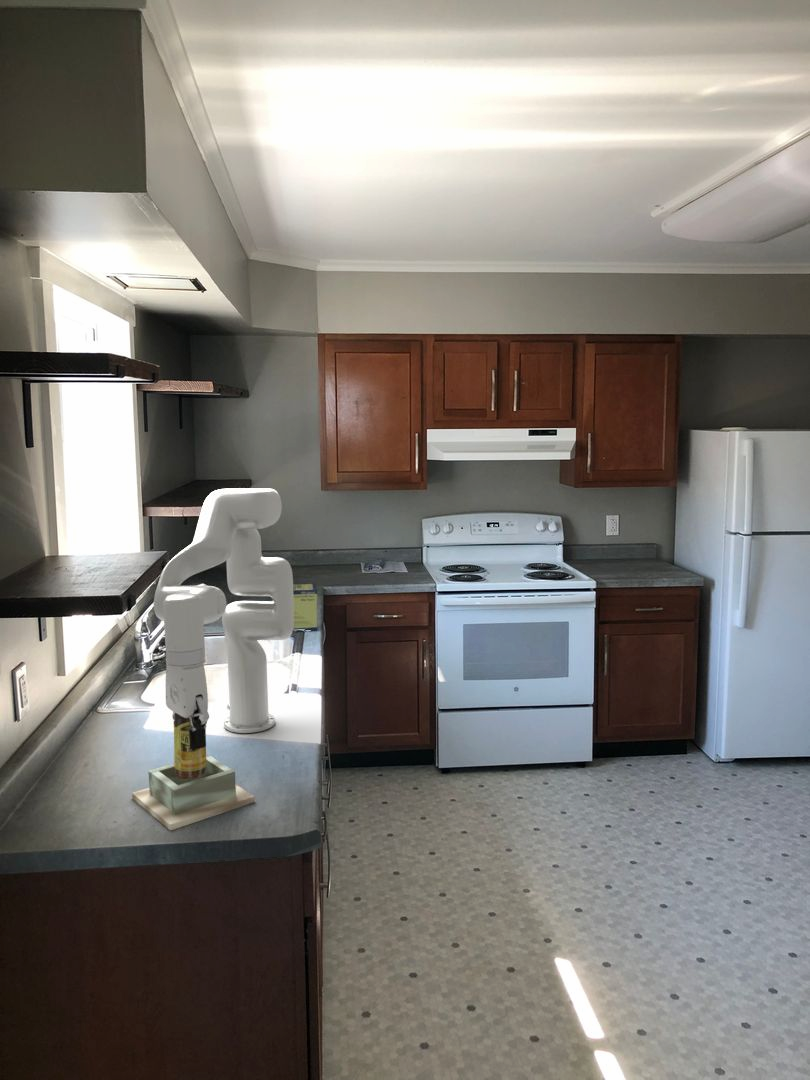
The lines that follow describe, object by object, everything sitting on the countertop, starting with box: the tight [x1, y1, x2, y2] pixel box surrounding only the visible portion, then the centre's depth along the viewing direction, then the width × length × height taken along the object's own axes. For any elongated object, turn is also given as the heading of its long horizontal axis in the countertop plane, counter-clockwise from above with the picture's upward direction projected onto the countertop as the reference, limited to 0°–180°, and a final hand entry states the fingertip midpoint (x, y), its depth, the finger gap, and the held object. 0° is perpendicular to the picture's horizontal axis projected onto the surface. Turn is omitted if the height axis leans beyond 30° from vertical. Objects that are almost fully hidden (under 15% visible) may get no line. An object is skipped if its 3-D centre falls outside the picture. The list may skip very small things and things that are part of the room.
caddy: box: [131, 753, 255, 831], centre depth 172 cm, size 18×18×6 cm
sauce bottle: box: [173, 710, 207, 779], centre depth 170 cm, size 7×6×20 cm
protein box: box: [293, 583, 319, 632], centre depth 309 cm, size 10×16×16 cm
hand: (190, 742), depth 170 cm, fingers closed on sauce bottle, 6 cm apart
